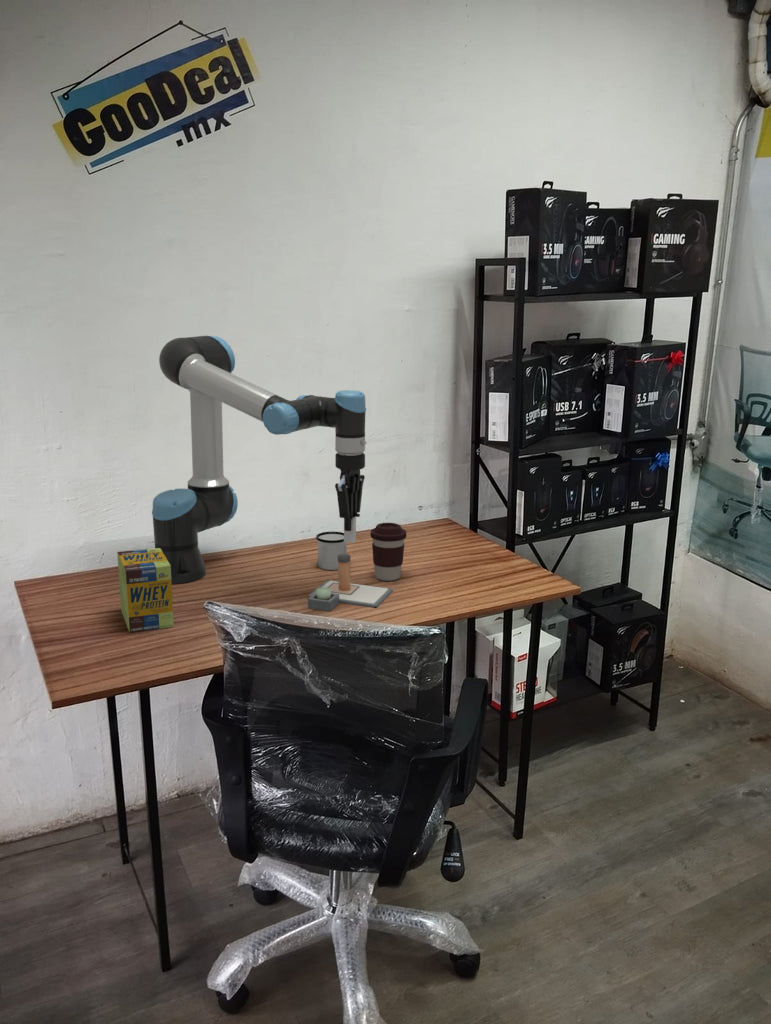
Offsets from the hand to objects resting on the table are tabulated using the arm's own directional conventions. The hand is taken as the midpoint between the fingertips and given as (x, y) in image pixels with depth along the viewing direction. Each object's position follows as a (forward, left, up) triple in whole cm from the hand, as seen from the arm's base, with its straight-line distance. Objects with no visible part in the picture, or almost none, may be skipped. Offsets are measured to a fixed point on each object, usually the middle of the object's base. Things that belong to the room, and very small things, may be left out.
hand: (349, 541), depth 220 cm
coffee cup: (+5, +16, -15) cm, 22 cm away
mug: (-14, +20, -15) cm, 28 cm away
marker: (-2, 0, -13) cm, 14 cm away
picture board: (+1, -1, -14) cm, 14 cm away
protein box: (-39, -34, -15) cm, 54 cm away
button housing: (-3, -11, -14) cm, 18 cm away
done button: (-3, -11, -13) cm, 17 cm away
